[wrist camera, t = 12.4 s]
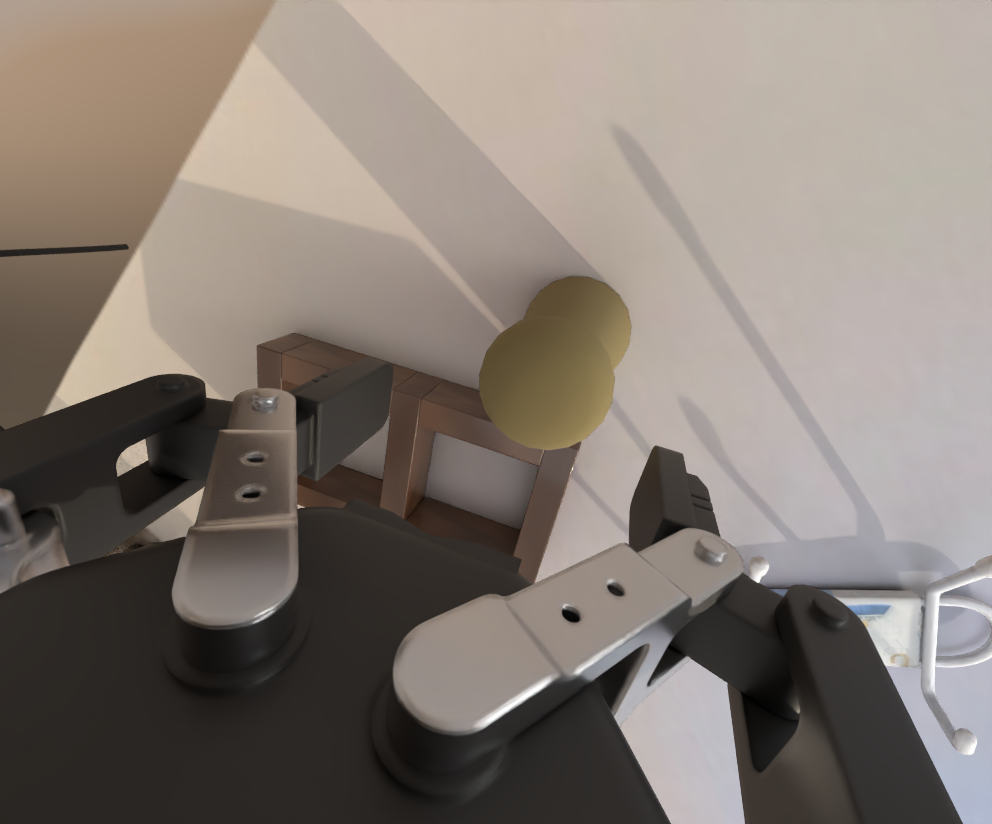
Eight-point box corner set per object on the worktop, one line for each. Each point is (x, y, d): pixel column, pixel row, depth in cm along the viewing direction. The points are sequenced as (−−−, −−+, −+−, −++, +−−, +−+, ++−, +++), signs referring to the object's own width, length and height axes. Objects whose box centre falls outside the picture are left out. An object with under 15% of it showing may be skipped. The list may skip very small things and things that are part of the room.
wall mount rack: (703, 667, 32) (714, 751, 27) (679, 503, 28) (687, 566, 23) (991, 683, 27) (1073, 793, 22) (1014, 482, 23) (1123, 560, 18)
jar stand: (292, 466, 36) (260, 490, 33) (293, 332, 31) (255, 345, 28) (540, 559, 33) (530, 594, 30) (585, 424, 28) (578, 449, 25)
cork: (534, 265, 25) (468, 297, 16) (645, 288, 24) (648, 337, 14) (515, 368, 28) (447, 449, 18) (614, 393, 27) (599, 493, 17)
